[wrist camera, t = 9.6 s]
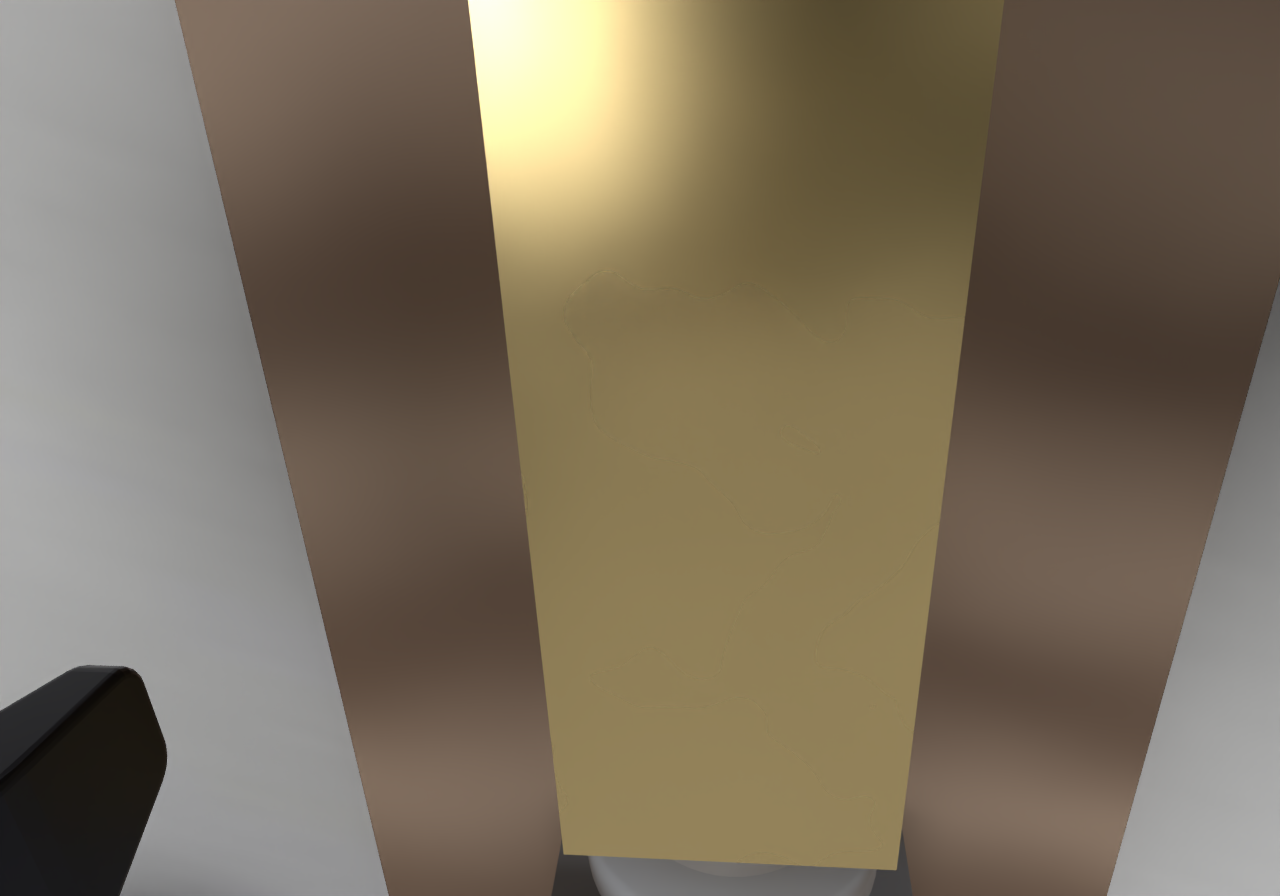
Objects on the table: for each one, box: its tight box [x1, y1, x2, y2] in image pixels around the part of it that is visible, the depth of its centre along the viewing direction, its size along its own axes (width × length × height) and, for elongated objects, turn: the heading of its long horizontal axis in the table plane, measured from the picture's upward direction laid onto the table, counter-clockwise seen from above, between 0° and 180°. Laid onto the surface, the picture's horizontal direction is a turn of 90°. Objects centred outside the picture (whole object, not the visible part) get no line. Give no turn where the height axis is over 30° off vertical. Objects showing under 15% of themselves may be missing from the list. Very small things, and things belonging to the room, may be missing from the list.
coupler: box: [468, 0, 1004, 870], centre depth 12 cm, size 10×4×5 cm, turn 2°
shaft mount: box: [175, 0, 1280, 896], centre depth 13 cm, size 30×14×6 cm, turn 2°
